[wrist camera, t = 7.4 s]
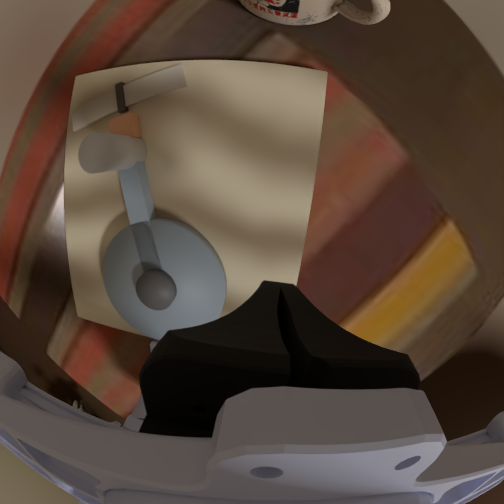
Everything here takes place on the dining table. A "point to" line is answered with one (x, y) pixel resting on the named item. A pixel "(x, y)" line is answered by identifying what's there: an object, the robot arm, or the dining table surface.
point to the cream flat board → (199, 167)
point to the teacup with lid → (314, 11)
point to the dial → (152, 245)
